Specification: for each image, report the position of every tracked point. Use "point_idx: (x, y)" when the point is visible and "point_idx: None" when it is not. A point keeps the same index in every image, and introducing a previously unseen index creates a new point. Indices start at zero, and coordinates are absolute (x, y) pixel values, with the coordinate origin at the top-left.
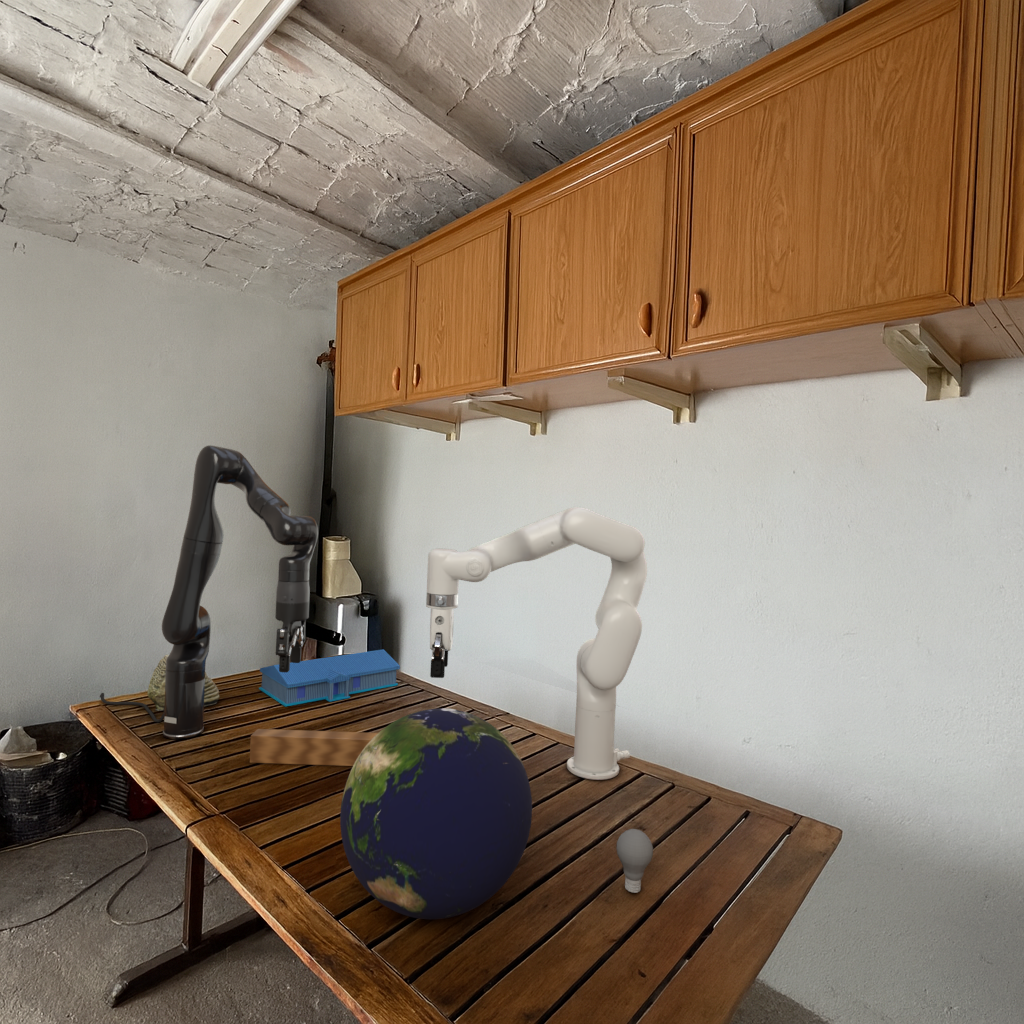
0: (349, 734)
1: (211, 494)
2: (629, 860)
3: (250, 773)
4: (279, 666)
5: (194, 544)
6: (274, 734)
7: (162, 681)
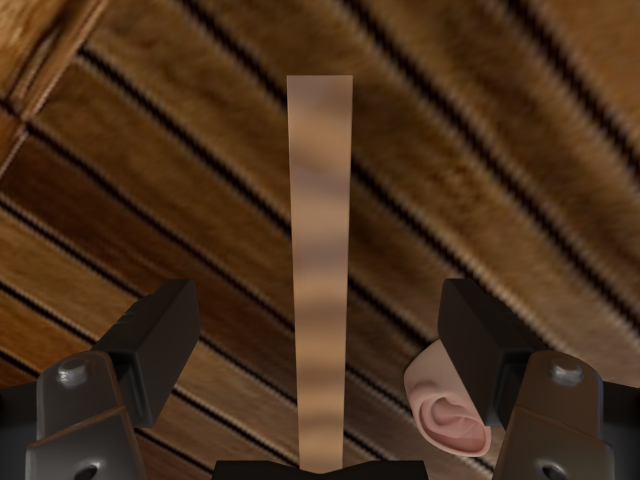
0: (326, 351)
1: None
2: None
3: (231, 110)
4: (153, 296)
5: None
6: (306, 153)
7: None
